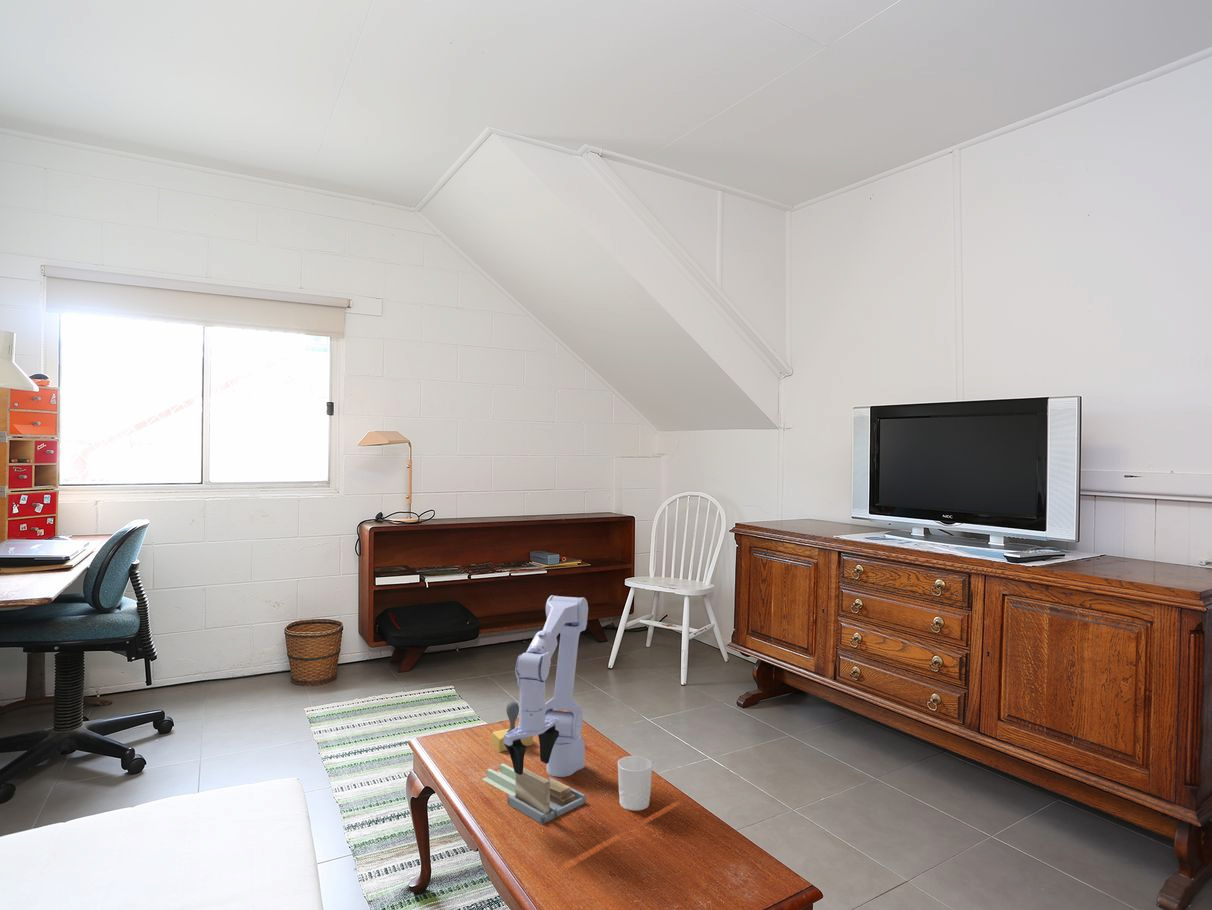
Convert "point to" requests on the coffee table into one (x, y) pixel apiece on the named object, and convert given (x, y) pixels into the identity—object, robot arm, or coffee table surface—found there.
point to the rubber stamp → (499, 735)
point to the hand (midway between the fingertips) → (531, 767)
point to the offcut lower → (563, 799)
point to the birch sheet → (533, 790)
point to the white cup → (634, 782)
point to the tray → (554, 808)
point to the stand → (502, 779)
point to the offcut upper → (558, 789)
